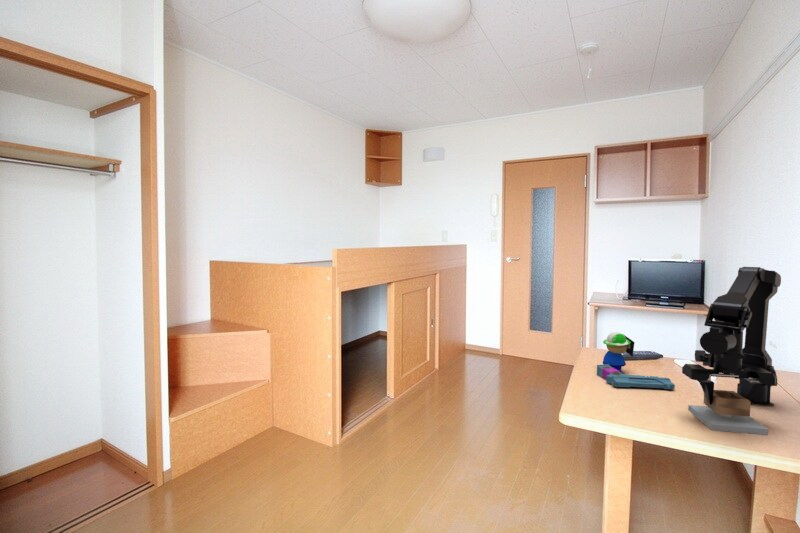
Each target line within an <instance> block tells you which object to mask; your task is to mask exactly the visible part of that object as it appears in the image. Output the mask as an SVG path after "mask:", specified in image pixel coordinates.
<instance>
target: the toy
mask: <svg viewBox="0 0 800 533" xmlns="http://www.w3.org/2000/svg"><path fill="white" fill-rule="evenodd" d="M602 342H603V344H604V345H606V349H607V350H608V351H607V352H606V353H605V354H604V356H603V360H602V365H604V364H609V365H610V366H611V367H612V368H615V369H617V370H619V371H620V372H621V373H622V368H623V367H626V366H627V362H626V360H625V358H624V355H623V353H627V354H629V356H631V357H632V358H633V356H634V349H635V341H634V340H632V339H631V338H629V337H628V336H626V335H625V334H623V333H620V332H618V331H616V332H611V333H609V334H608V335H607V337H606V339H604V340H603V341H602Z"/></svg>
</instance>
